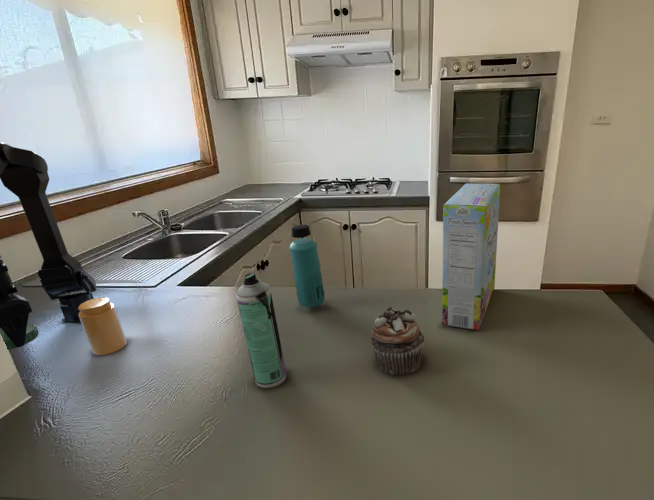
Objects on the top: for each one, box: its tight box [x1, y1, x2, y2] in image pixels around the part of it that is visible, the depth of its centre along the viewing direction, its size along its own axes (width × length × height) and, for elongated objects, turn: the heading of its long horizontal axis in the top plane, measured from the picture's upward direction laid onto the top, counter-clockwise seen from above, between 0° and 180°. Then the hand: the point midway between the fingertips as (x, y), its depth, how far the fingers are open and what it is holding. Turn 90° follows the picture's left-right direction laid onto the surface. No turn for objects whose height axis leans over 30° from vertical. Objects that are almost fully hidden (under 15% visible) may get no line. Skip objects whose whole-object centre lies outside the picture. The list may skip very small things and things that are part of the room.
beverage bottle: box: [288, 223, 326, 308], centre depth 97 cm, size 6×7×20 cm
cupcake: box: [370, 306, 426, 376], centre depth 75 cm, size 10×10×10 cm
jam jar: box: [78, 296, 128, 356], centre depth 88 cm, size 6×6×10 cm
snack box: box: [441, 182, 501, 331], centre depth 90 cm, size 22×9×26 cm, turn 158°
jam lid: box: [0, 322, 40, 351], centre depth 78 cm, size 7×7×2 cm
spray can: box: [235, 272, 287, 389], centre depth 71 cm, size 6×6×20 cm
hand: (16, 340), depth 79 cm, fingers closed on jam lid, 7 cm apart
